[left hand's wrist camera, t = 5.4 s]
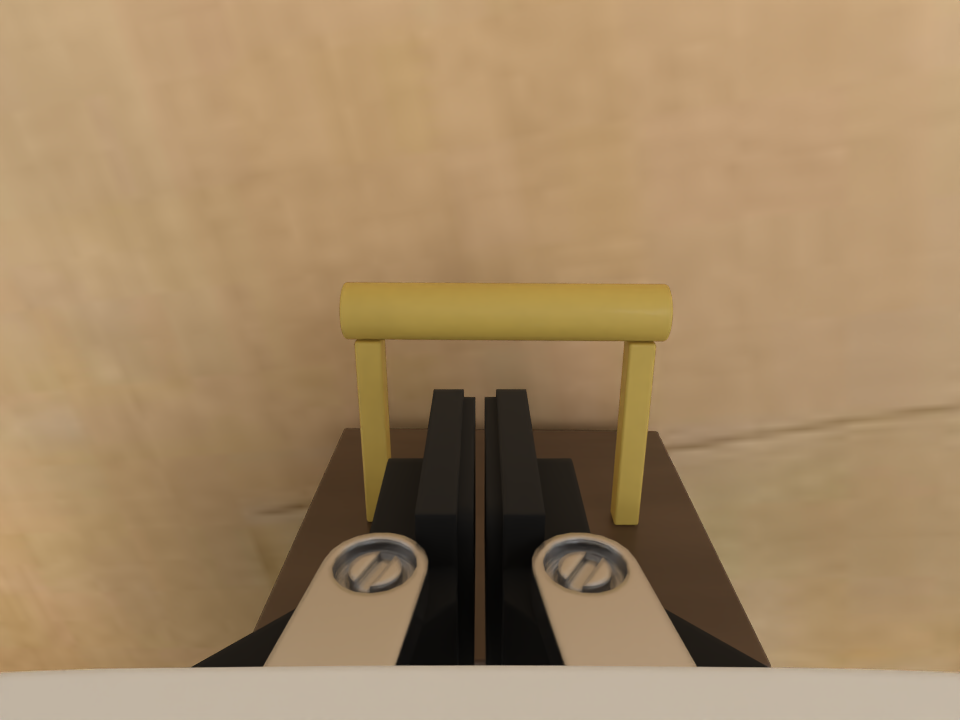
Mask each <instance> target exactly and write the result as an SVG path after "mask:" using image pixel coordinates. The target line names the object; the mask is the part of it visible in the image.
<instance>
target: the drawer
mask: <svg viewBox="0 0 960 720" xmlns="http://www.w3.org/2000/svg"><path fill="white" fill-rule="evenodd" d="M339 311H340V325H341V330H342V333H343V336H344V337H345V338H346V339H357V340H356V342H355V344H354V345H355V359H356V373H357V387H358V401H359V416H360V429H358V428H346V429H344V431H343V433H342V436H341V438H340V440H339V442H338V445H337V447H336V449H335V451H334V453H333V456H332V458H331V460H330V462H329V465H328V467H327V469H326V471H325V474H324V476H323V478H322V480H321V482H320V485H319V487H318V489H317V491H316V494H315V496H314V498H313V500H312V502H311V505H310V507H309V509H308V511H307V514H306V516H305V518H304V520H303V522H302V525H301V527H300V529H299V531H298V534H297V536H296V538H295V540H294V542H293V545H292V547H291V549H290V551H289V554H288V556H287V558H286V560H285V563H284V565H283V567H282V569H281V571H280V574H279V576H278V578H277V580H276V583H275V585H274V587H273V589H272V591H271V594H270V596H269V598H268V600H267V603H266V605H265V607H264V609H263V611H262V614H261V616H260V618H259V620H258V623H257V625H256V627H255V629H254V631H253V632H255V631H256V630H258V629H260V628H262V627H264V626H265V625H267V624H269V623H271V622H272V621H274V620H276V619H278V618H279V617H281V616H283V615H285V614H287V613H288V612H290V611H292V610H294V609H295V608H297V606H298V604H299V602H300V601H301V599H302V597H303V595H304V594H305V592H306V590H307V588H308V587H309V585H310V583H311V581H312V580H313V578H314V576H315V574H316V573H317V571H318V569H319V567H320V566H321V564H322V562H323V560H324V559H325V558H326V556H327V555H328V554H329V553H330V552H331V550H332V549H334V548H335V547H337V546H338V545H340V544H341V543H342V542H344V541H346V540H349V539H351V538H354V537H356V536H360V535H365V534H369V533H370V529H371V525H372V521H373V517H374V513H375V509H376V505H377V501H378V497H379V493H380V489H381V485H382V481H383V477H384V473H385V469H386V465H387V462H388V459H389V458H423V457H424V450H425V444H426V438H427V431H428V429H390V427H389V408H388V389H387V370H386V352H385V339H402V340H547V341H624V353H623V366H622V378H621V390H620V402H619V414H618V427H617V431H574V430H532V431H533V438H534V444H535V450H536V457H537V458H571V459H572V462H573V465H574V469H575V473H576V477H577V481H578V485H579V489H580V493H581V497H582V501H583V505H584V509H585V513H586V517H587V521H588V525H589V529H590V533H591V534H595V535H600V536H604V537H606V538H609V539H611V540H614V541H616V542H618V543H619V544H620V545H622V546H623V547H625V548H626V549H628V550H629V552H630V553H631V554H632V555H633V556H634V558H635V559H636V560H637V562H638V564H639V566H640V567H641V569H642V571H643V573H644V574H645V576H646V578H647V580H648V581H649V583H650V585H651V587H652V588H653V590H654V592H655V594H656V595H657V597H658V599H659V601H660V602H661V604H662V606H663V608H665V609H666V610H668V611H670V612H672V613H673V614H675V615H677V616H679V617H681V618H682V619H684V620H686V621H688V622H689V623H691V624H693V625H695V626H696V627H698V628H700V629H702V630H704V631H705V632H707V633H709V634H711V635H712V636H714V637H716V638H718V639H720V640H721V641H723V642H725V643H727V644H728V645H730V646H732V647H734V648H735V649H737V650H739V651H741V652H743V653H744V654H746V655H748V656H750V657H751V658H753V659H755V660H757V661H759V662H760V663H762V664H764V665H766V666H767V667H769V668H771V665H770V662H769V660H768V658H767V656H766V654H765V652H764V650H763V648H762V646H761V644H760V642H759V640H758V638H757V636H756V634H755V631H754V629H753V627H752V625H751V623H750V621H749V619H748V617H747V615H746V613H745V611H744V609H743V607H742V605H741V603H740V601H739V599H738V597H737V594H736V592H735V590H734V588H733V586H732V584H731V582H730V580H729V578H728V576H727V574H726V572H725V570H724V568H723V566H722V564H721V562H720V560H719V557H718V555H717V553H716V551H715V549H714V547H713V545H712V543H711V541H710V539H709V537H708V535H707V533H706V531H705V529H704V527H703V525H702V523H701V520H700V518H699V516H698V514H697V512H696V510H695V508H694V506H693V504H692V502H691V500H690V498H689V496H688V494H687V492H686V490H685V488H684V486H683V483H682V481H681V479H680V477H679V475H678V473H677V471H676V469H675V467H674V465H673V463H672V461H671V459H670V457H669V455H668V453H667V451H666V449H665V446H664V444H663V442H662V440H661V438H660V436H659V434H658V432H656V431H648V422H649V412H650V402H651V392H652V382H653V372H654V362H655V352H656V345H655V343H654V341H665V340H667V338H668V337H669V334H670V331H671V326H672V318H673V303H672V295H671V291H670V288H669V287H668V286H667V285H666V284H547V283H362V282H347V283H345V284H344V285H343V287H342V290H341V295H340V308H339ZM484 475H485V430H475V476H476V550H475V652H474V666H486V653H485V551H484Z"/></svg>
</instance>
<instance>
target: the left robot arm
mask: <svg viewBox="0 0 960 720" xmlns="http://www.w3.org/2000/svg"><path fill="white" fill-rule="evenodd" d="M475 550H476V476H475V397H464V390H463V389H434V392H433V399H432V405H431V412H430V418H429V425H428V431H427V438H426V444H425V450H424V457H423V458H389V459H388V462H387V465H386V469H385V473H384V477H383V481H382V485H381V489H380V493H379V497H378V501H377V505H376V509H375V513H374V517H373V521H372V525H371V529H370V533H369V534H365V535H360V536H356V537H354V538H351V539H349V540H346V541H344V542H342V543H341V544H340V545H338V546H337V547H335V548H334V549H332V550H331V552H330V553H329V554H328V555H327V556H326V558H325V559H324V560H323V562H322V564H321V566H320V567H319V569H318V571H317V573H316V574H315V576H314V578H313V580H312V581H311V583H310V585H309V587H308V588H307V590H306V592H305V594H304V595H303V597H302V599H301V601H300V602H299V604H298V606H297V608H295V609H294V610H292V611H290V612H288V613H287V614H285V615H283V616H281V617H279V618H278V619H276V620H274V621H272V622H271V623H269V624H267V625H265V626H264V627H262V628H260V629H258V630H256V631H255V632H253V633H251V634H249V635H248V636H246V637H244V638H242V639H240V640H239V641H237V642H235V643H233V644H232V645H230V646H228V647H226V648H225V649H223V650H221V651H219V652H217V653H216V654H214V655H212V656H210V657H209V658H207V659H205V660H203V661H201V662H200V663H198V664H196V665H194V666H193V667H191V668H96V669H69V670H42V671H14V672H0V720H960V672H946V671H918V670H891V669H864V668H769V667H767V666H766V665H764V664H762V663H760V662H759V661H757V660H755V659H753V658H751V657H750V656H748V655H746V654H744V653H743V652H741V651H739V650H737V649H735V648H734V647H732V646H730V645H728V644H727V643H725V642H723V641H721V640H720V639H718V638H716V637H714V636H712V635H711V634H709V633H707V632H705V631H704V630H702V629H700V628H698V627H696V626H695V625H693V624H691V623H689V622H688V621H686V620H684V619H682V618H681V617H679V616H677V615H675V614H673V613H672V612H670V611H668V610H666V609H665V608H663V606H662V604H661V602H660V601H659V599H658V597H657V595H656V594H655V592H654V590H653V588H652V587H651V585H650V583H649V581H648V580H647V578H646V576H645V574H644V573H643V571H642V569H641V567H640V566H639V564H638V562H637V560H636V559H635V558H634V556H633V555H632V554H631V553H630V552H629V550H628V549H626V548H625V547H623V546H622V545H620V544H619V543H618V542H616V541H614V540H611V539H609V538H606V537H604V536H600V535H595V534H591V533H590V529H589V525H588V521H587V517H586V513H585V509H584V505H583V501H582V497H581V493H580V489H579V485H578V481H577V477H576V473H575V469H574V465H573V462H572V459H571V458H537V457H536V450H535V444H534V438H533V431H532V425H531V418H530V412H529V405H528V399H527V392H526V389H497V390H496V397H485V475H484V551H485V653H486V666H474V652H475Z"/></svg>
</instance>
